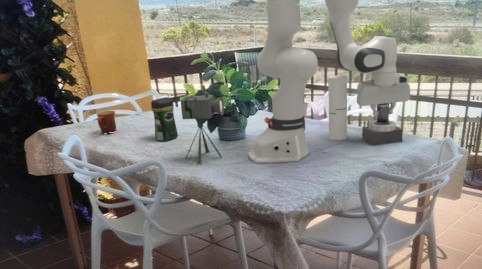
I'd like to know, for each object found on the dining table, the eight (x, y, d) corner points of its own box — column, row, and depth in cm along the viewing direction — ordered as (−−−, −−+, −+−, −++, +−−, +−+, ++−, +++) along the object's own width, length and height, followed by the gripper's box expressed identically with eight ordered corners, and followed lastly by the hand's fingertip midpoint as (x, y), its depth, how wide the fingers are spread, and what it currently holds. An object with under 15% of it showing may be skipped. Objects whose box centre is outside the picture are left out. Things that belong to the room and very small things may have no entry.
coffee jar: (169, 134, 188) (164, 95, 182) (180, 137, 182) (176, 96, 177) (152, 140, 181) (147, 99, 176) (163, 142, 176) (158, 101, 170)
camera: (180, 165, 146) (171, 98, 139) (190, 151, 161) (184, 90, 154) (222, 165, 144) (216, 96, 137) (229, 151, 159) (224, 88, 152)
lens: (379, 123, 154) (380, 105, 152) (374, 120, 158) (374, 103, 156) (391, 121, 154) (391, 104, 152) (385, 119, 159) (385, 101, 157)
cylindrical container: (347, 140, 162) (347, 77, 155) (329, 140, 163) (328, 78, 156) (346, 134, 168) (346, 75, 161) (328, 135, 170) (328, 75, 163)
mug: (105, 130, 204) (101, 110, 201) (121, 130, 203) (118, 110, 200) (93, 137, 193) (89, 116, 190) (110, 137, 191) (106, 116, 188)
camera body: (373, 145, 153) (373, 128, 151) (361, 138, 162) (361, 121, 160) (402, 142, 154) (403, 124, 152) (389, 135, 164) (390, 118, 162)
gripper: (361, 82, 147) (361, 119, 151) (413, 77, 150) (411, 113, 154) (353, 80, 153) (353, 115, 157) (403, 75, 156) (402, 110, 160)
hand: (382, 114), depth 155 cm, fingers closed on lens, 4 cm apart
